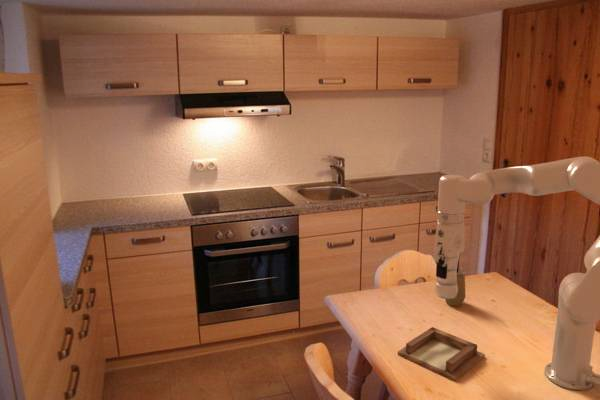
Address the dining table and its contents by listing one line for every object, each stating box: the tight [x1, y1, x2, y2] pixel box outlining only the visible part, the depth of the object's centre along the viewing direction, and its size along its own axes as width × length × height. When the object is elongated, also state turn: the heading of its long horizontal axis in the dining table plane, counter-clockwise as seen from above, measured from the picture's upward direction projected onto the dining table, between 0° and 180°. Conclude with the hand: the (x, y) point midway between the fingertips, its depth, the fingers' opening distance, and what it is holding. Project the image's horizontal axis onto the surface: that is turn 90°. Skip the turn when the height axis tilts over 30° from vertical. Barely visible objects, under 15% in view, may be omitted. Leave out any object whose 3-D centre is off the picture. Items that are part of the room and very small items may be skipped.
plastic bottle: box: [434, 251, 461, 300], centre depth 148 cm, size 6×7×20 cm
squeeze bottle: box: [444, 265, 467, 307], centre depth 188 cm, size 8×8×18 cm
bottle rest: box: [397, 326, 486, 382], centre depth 155 cm, size 20×18×4 cm
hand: (447, 273), depth 149 cm, fingers closed on plastic bottle, 6 cm apart
